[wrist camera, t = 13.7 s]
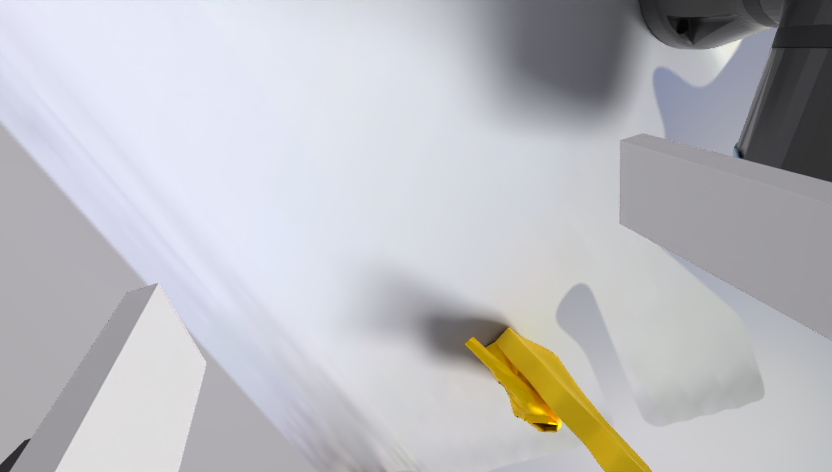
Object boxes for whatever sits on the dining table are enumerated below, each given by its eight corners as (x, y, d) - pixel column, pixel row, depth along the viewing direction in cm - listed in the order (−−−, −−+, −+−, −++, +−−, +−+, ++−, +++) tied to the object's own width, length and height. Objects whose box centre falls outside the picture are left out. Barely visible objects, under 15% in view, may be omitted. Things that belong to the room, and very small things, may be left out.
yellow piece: (443, 335, 51) (536, 515, 32) (490, 290, 50) (615, 447, 31) (525, 395, 59) (639, 567, 40) (567, 357, 58) (705, 514, 39)
